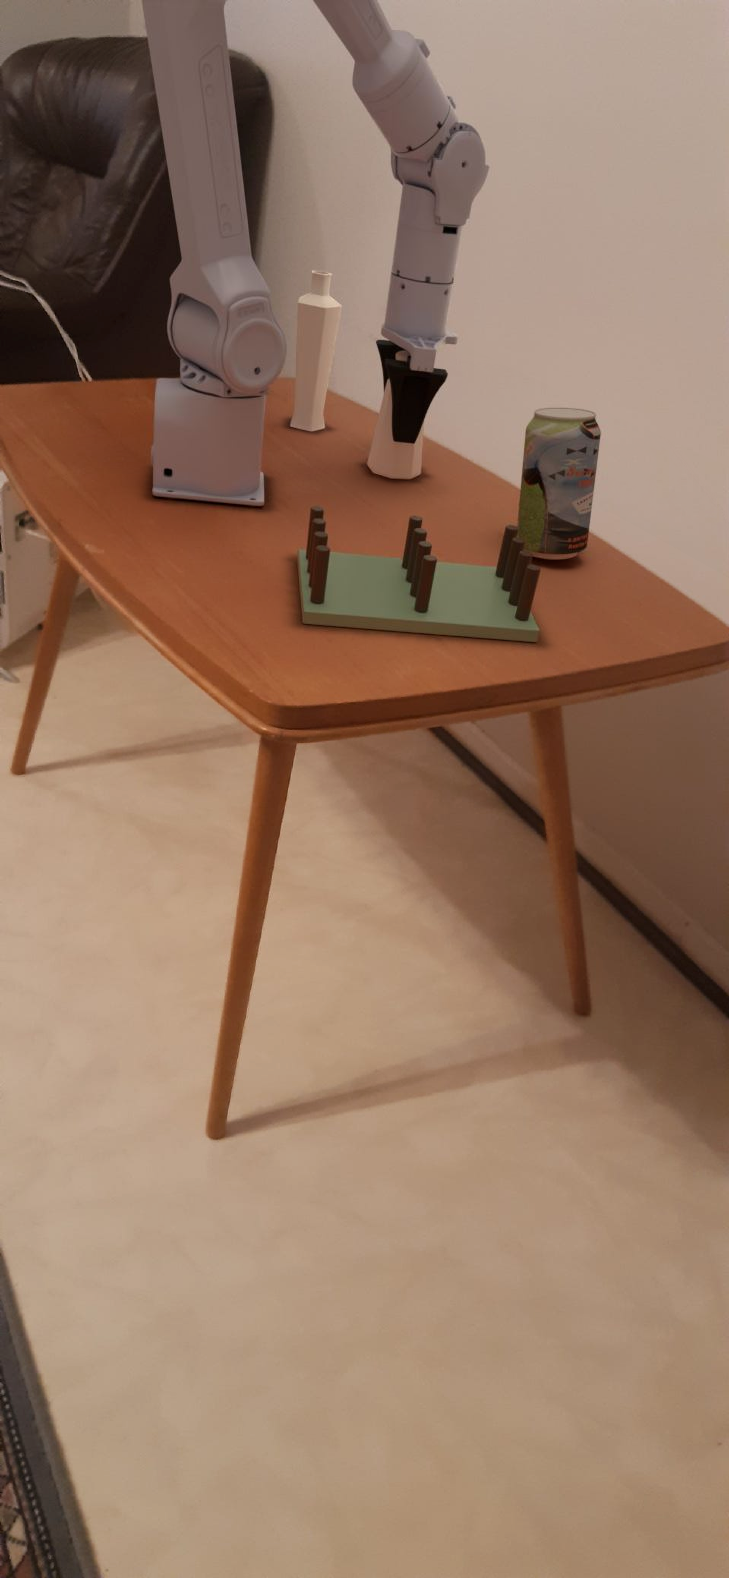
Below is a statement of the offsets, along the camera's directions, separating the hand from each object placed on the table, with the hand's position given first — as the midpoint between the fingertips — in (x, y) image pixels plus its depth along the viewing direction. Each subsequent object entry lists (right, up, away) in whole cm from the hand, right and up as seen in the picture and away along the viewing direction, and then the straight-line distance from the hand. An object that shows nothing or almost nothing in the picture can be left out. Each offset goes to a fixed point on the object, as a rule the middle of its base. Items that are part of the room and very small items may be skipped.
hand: (399, 430), depth 99 cm
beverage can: (+12, -14, -11) cm, 21 cm away
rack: (0, -21, -22) cm, 30 cm away
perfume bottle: (-9, +4, +11) cm, 15 cm away
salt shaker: (-1, -3, +2) cm, 4 cm away
